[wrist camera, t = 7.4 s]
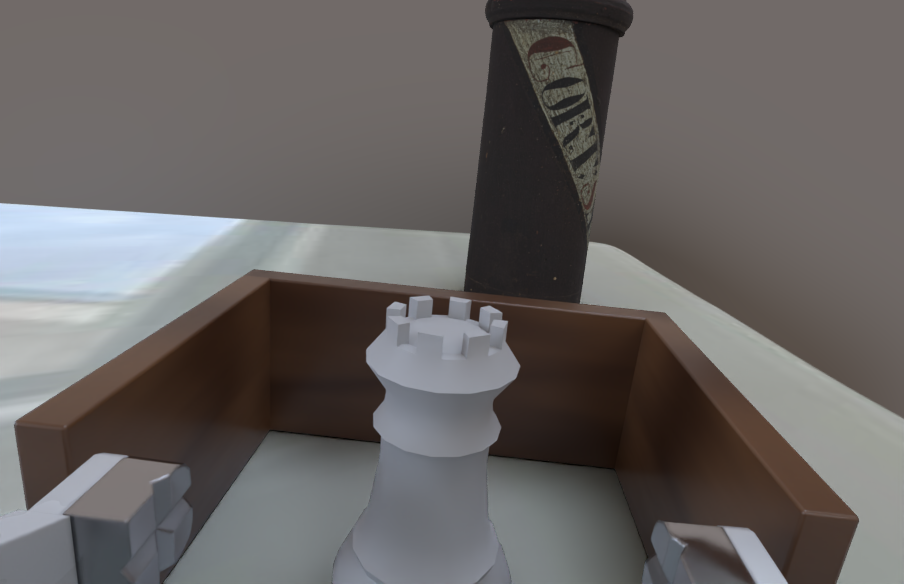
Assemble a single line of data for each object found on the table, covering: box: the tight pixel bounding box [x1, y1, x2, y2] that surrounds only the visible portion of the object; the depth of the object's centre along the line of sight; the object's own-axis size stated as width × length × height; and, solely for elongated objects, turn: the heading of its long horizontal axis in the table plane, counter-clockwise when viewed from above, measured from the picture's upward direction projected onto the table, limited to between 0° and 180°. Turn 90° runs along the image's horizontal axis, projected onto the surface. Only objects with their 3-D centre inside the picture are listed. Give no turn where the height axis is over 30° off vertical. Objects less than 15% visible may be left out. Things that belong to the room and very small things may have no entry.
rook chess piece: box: [332, 296, 520, 584], centre depth 13 cm, size 4×4×8 cm
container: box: [464, 0, 633, 304], centre depth 37 cm, size 9×9×20 cm
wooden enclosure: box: [14, 269, 859, 584], centre depth 16 cm, size 11×15×6 cm
